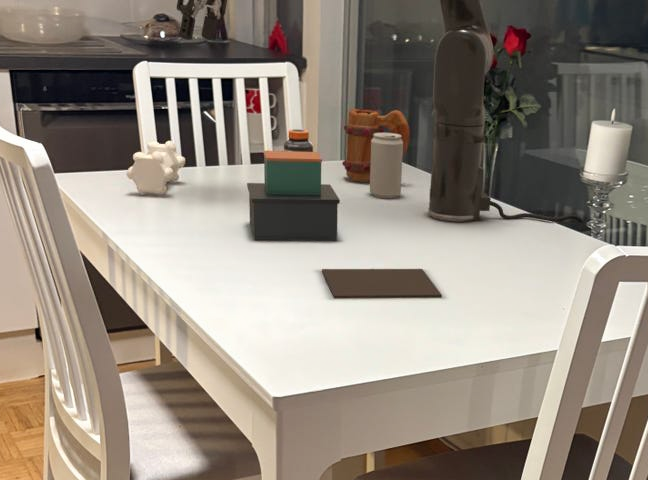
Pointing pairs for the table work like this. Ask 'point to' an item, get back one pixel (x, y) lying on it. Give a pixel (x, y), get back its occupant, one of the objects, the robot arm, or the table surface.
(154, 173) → the white bone
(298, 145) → the pill bottle
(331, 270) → the mat
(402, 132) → the mug
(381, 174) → the beverage can
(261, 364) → the table surface
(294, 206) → the bottom box
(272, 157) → the orange and teal box
